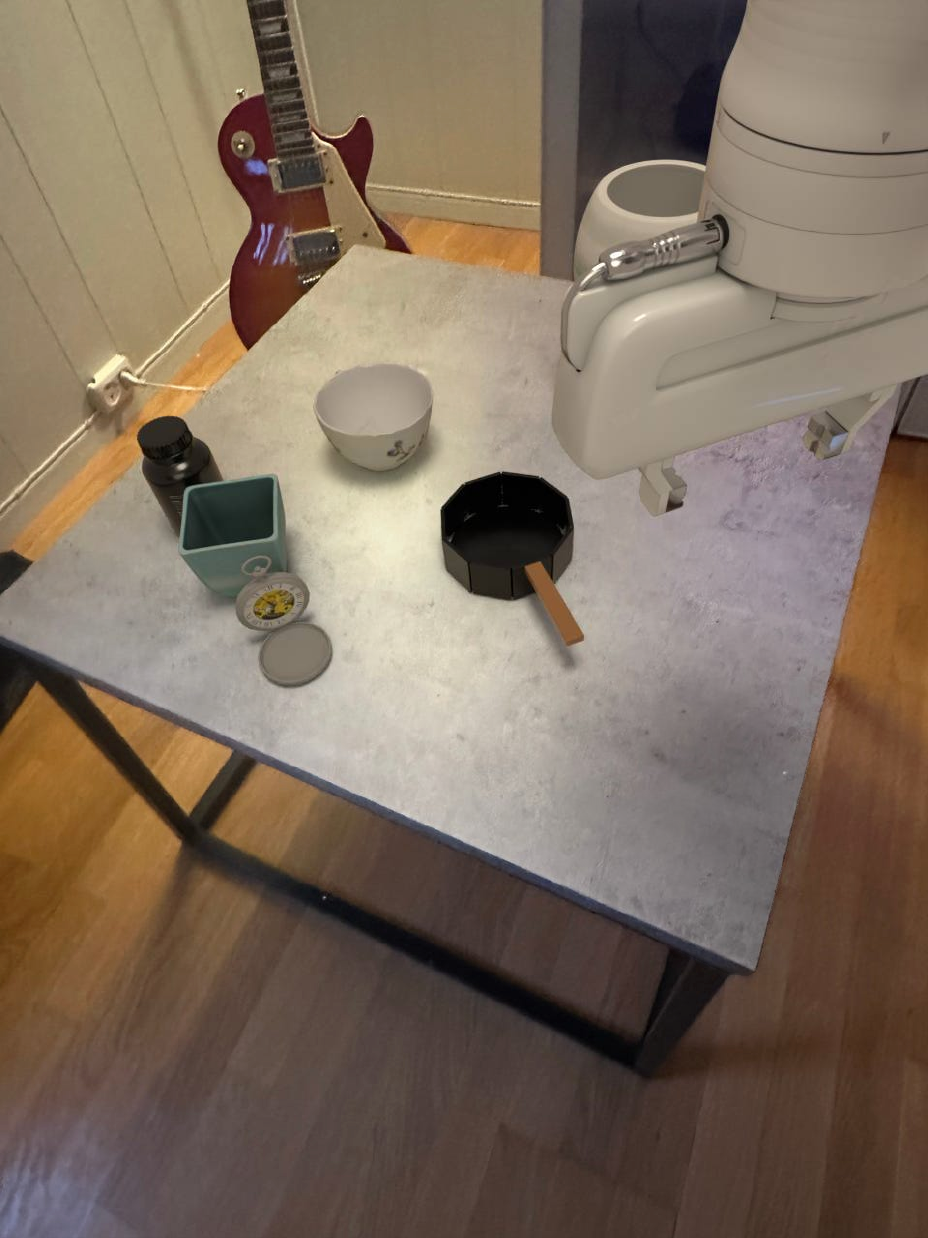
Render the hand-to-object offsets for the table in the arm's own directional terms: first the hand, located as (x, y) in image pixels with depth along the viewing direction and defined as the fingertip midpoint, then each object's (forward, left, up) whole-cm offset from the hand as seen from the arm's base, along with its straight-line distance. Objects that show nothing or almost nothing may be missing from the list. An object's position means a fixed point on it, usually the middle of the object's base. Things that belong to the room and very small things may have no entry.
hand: (743, 476), depth 38 cm
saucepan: (+10, -17, -29) cm, 35 cm away
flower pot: (+37, -20, -29) cm, 51 cm away
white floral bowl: (+26, -38, -29) cm, 55 cm away
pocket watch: (+32, -11, -29) cm, 45 cm away
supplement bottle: (+44, -28, -29) cm, 60 cm away
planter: (-4, -46, -29) cm, 55 cm away
